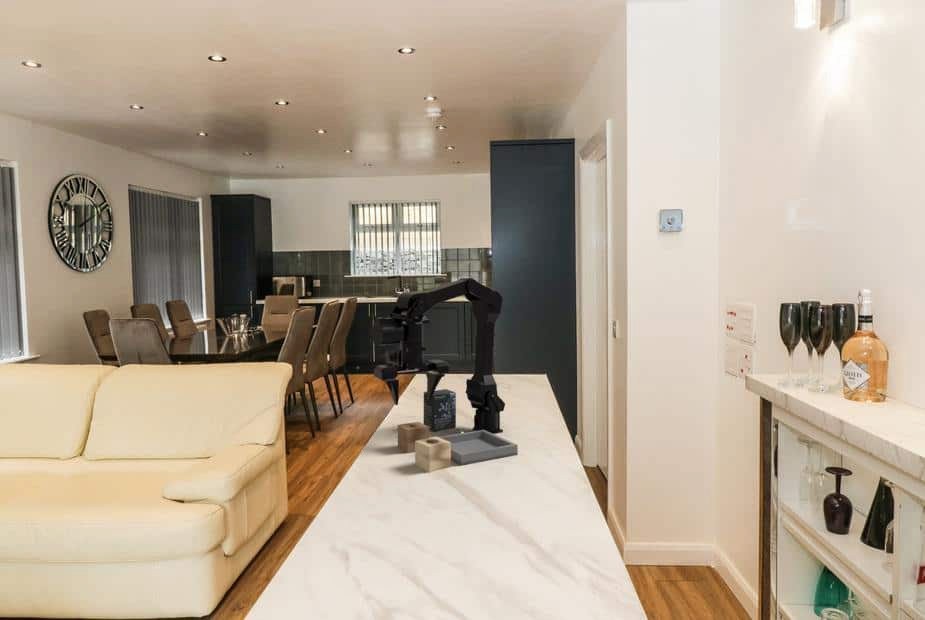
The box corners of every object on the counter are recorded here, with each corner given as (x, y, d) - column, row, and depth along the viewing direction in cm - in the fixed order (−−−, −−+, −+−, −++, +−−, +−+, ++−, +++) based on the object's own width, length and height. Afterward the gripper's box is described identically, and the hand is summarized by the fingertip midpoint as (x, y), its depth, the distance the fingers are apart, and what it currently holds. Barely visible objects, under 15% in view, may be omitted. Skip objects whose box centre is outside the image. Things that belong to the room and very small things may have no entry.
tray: (483, 438, 171) (483, 429, 171) (517, 454, 157) (517, 444, 157) (430, 447, 163) (430, 438, 163) (461, 465, 149) (461, 455, 149)
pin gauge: (461, 437, 172) (461, 428, 172) (465, 439, 170) (465, 430, 170) (423, 443, 167) (423, 434, 166) (427, 446, 165) (427, 437, 164)
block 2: (436, 460, 153) (435, 436, 152) (450, 467, 148) (450, 441, 148) (415, 465, 149) (415, 440, 149) (429, 472, 145) (429, 446, 144)
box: (433, 432, 178) (432, 395, 177) (423, 427, 182) (422, 391, 182) (456, 428, 182) (456, 391, 181) (446, 423, 187) (446, 388, 186)
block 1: (418, 444, 167) (418, 421, 166) (429, 450, 162) (428, 426, 161) (397, 447, 164) (397, 424, 163) (407, 453, 159) (407, 429, 158)
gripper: (430, 336, 172) (431, 392, 173) (365, 341, 163) (367, 400, 164) (450, 340, 162) (450, 400, 164) (382, 346, 153) (383, 409, 155)
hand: (412, 402), depth 162 cm, fingers open, 9 cm apart
